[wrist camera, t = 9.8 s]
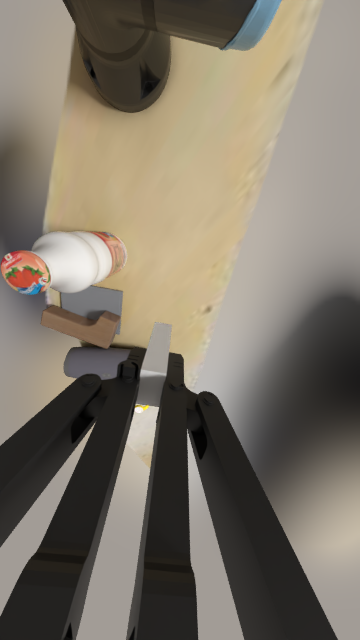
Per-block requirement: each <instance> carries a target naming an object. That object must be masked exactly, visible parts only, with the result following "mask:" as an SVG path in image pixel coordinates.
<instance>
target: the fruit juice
mask: <svg viewBox="0 0 360 640" xmlns="http://www.w3.org/2000/svg"><path fill="white" fill-rule="evenodd" d="M126 261H127V250H126V247H125V245H124V243H123V242H122V241H121V240H120V239H119V238H118V237H117V236H115V235H113V234H111V233H108V232H89V231H74V232H64V231H56V232H50V233H47V234H44V235H42V236H41V237H40V238H39V239H37V240H36V242H35V243H34V245H33V247H32V250H31V251H25V250H19V251H14V252H11V253H9V254H7V255H5V257H4V258H3V260H2V262H1V272H2V275H3V277H4V279H5V280H6V282H7V283H8V284H9V285H10V286H11V287H12V288H13V289H15V290H16V291H18V292H21V293H24V294H29V295H30V294H37V293H41V292H43V291H45V290H47V289H48V288H49V287H50V288H52V289H54V290H56V291H59V292H63V293H76V292H80V291H82V290H85V289H86V288H88V287H89V286H90V285H93V284H96V283H99V282H101V281H103V280H104V279H106V278H108V277H109V276H111V275H113V274H115V273H116V272H118V271H120V270H121V269H122V268H123V267H124V265H125V264H126Z"/></svg>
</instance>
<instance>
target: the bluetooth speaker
mask: <svg viewBox="0 0 360 640" xmlns="http://www.w3.org/2000/svg"><path fill="white" fill-rule="evenodd" d="M130 351H131V350H130V349H121V348H110V347H109V348H107V349H105V348H102V347H73V348H71V349H70V350H69V352H68V354H67V356H66V359H65V362H64V373H65V375H66V376H68V377H73V378H79V377H80V376H82V375H85V374H91V373H92V374H97V375H98V376H100V378H101V380H105V379H112V378H115V377H117V366H118V364H119V363H120V362H122V361H125V360H127V358H128V355H129V353H130Z"/></svg>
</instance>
